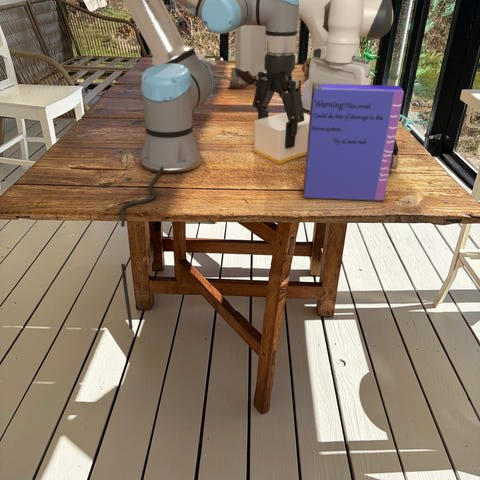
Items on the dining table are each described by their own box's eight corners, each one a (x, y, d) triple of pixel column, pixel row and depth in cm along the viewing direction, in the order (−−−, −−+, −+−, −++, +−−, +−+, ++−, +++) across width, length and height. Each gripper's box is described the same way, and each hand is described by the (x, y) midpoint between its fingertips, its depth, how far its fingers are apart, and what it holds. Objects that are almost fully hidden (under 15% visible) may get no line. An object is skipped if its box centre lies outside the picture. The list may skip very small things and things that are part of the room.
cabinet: (293, 139, 138) (295, 109, 133) (319, 150, 131) (321, 119, 126) (254, 151, 131) (254, 120, 126) (278, 163, 124) (279, 130, 119)
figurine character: (396, 183, 117) (389, 155, 129) (402, 156, 112) (395, 129, 124) (368, 182, 118) (364, 154, 129) (373, 154, 113) (368, 127, 125)
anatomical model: (311, 84, 215) (310, 84, 201) (297, 70, 214) (296, 70, 200) (331, 62, 211) (332, 61, 197) (317, 48, 210) (317, 46, 196)
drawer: (331, 126, 144) (333, 103, 141) (354, 135, 138) (357, 111, 134) (283, 140, 135) (284, 116, 131) (305, 150, 129) (307, 125, 125)
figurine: (210, 87, 179) (288, 95, 182) (212, 65, 176) (291, 73, 180) (208, 84, 201) (278, 91, 205) (210, 64, 198) (280, 71, 202)
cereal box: (379, 191, 109) (398, 84, 97) (383, 201, 105) (404, 90, 93) (303, 188, 110) (312, 82, 98) (304, 197, 106) (314, 88, 94)
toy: (171, 74, 211) (170, 58, 208) (148, 64, 229) (146, 49, 225) (218, 68, 223) (218, 53, 219) (192, 59, 240) (192, 44, 237)
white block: (273, 76, 210) (276, 6, 196) (239, 77, 209) (240, 6, 194) (266, 67, 226) (268, 2, 212) (235, 67, 225) (235, 1, 210)
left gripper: (324, 59, 110) (316, 150, 121) (262, 45, 125) (260, 127, 137) (300, 62, 106) (294, 156, 117) (239, 47, 121) (239, 132, 133)
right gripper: (379, 58, 122) (371, 112, 129) (323, 47, 136) (318, 96, 143) (363, 61, 119) (355, 116, 126) (307, 49, 133) (303, 99, 140)
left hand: (275, 141), depth 127 cm, fingers closed on cabinet, 10 cm apart
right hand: (335, 105), depth 135 cm, fingers closed
